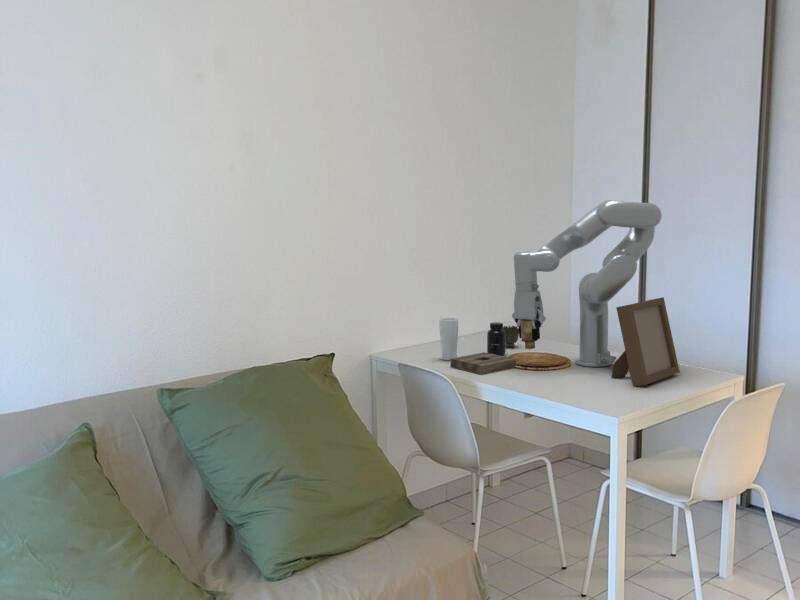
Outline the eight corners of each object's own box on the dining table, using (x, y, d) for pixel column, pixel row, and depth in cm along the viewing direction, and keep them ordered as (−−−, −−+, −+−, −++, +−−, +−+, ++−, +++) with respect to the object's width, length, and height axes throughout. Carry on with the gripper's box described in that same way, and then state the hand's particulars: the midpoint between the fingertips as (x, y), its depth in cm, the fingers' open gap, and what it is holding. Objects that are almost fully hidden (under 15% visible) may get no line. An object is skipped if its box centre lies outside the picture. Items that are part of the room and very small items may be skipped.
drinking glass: (437, 358, 280) (436, 318, 278) (453, 356, 283) (452, 316, 281) (445, 362, 274) (444, 321, 272) (461, 360, 277) (461, 319, 275)
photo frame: (679, 375, 245) (680, 298, 242) (645, 388, 230) (645, 306, 227) (637, 369, 255) (637, 295, 252) (602, 381, 241) (602, 303, 238)
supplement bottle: (492, 357, 280) (492, 325, 278) (484, 354, 286) (483, 322, 285) (509, 355, 282) (508, 323, 281) (500, 352, 289) (499, 321, 287)
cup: (497, 346, 301) (497, 326, 299) (514, 344, 303) (514, 324, 302) (505, 349, 293) (505, 329, 292) (522, 348, 296) (522, 327, 295)
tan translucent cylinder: (541, 347, 265) (540, 319, 264) (530, 350, 262) (528, 321, 261) (529, 345, 270) (528, 318, 269) (518, 348, 266) (516, 320, 265)
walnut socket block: (515, 367, 262) (515, 358, 262) (481, 374, 253) (481, 365, 253) (484, 360, 275) (484, 352, 275) (450, 367, 266) (450, 358, 265)
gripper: (552, 286, 258) (555, 339, 261) (516, 284, 272) (519, 334, 274) (537, 289, 254) (540, 342, 256) (501, 287, 268) (504, 338, 270)
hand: (529, 337), depth 265 cm, fingers closed on tan translucent cylinder, 5 cm apart
